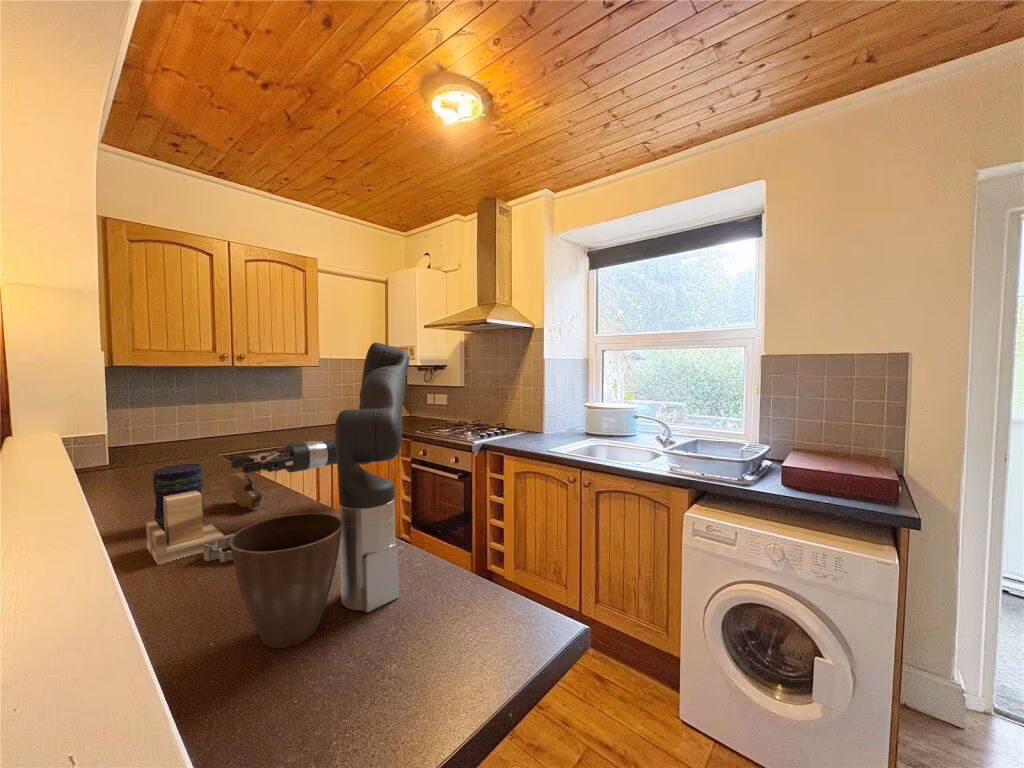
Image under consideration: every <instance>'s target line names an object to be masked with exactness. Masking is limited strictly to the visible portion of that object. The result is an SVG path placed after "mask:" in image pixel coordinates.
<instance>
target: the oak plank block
mask: <svg viewBox="0 0 1024 768" xmlns="http://www.w3.org/2000/svg"><path fill="white" fill-rule="evenodd" d="M202 497H203V496H202V492H201V493H199V492H198V491H190V492H185V493H180V494H175V495H169V496H164V497H163V505H164V528H165V533H166V543H167V544H168V545H169V546H173V545H177V544H181V543H185V542H189V541H192V540H196V539H200V538H203V526H204V522H203V520H204V516H203V517H202V501H203V498H202Z"/></svg>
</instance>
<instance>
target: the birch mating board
mask: <svg viewBox="0 0 1024 768" xmlns="http://www.w3.org/2000/svg"><path fill="white" fill-rule="evenodd" d="M145 528H146V529H145V531H146V533H145V534H146V548H147V550H149V551H148V552H149V554H150V553H151V554H150V556H153V557H152V558H153V559H154V561H155V562H156V565H157V566H159V564H160V565H163V564H166V562H167V563H170V562H173V560H174V561H177V560H180V558H181V559H183V557H184V558H187V556H188V557H191V555H192V556H195V555H198V553H199V554H202V553H203V552H204V551H203V550H204V548H205V546H204V547H202V546H199V545H200V544H201V543H202V544H208V545H211V544H212V542H213V541H214V542H216V541H217V540H218V539H221V538H223V537H224V536H225V534H223V533H222V532H221V531H220V530H219V529H218V528H216V527H215V526H214V525H213V524H211V523H210V524H209V523H208V524H206V525H203V538H200V539H196V540H192V541H189V542H185V543H181V544H177V545H173V546H169V545H168V544H167V543H166V533H165V532H164V531H163V530H162V529H161V527H160V526H159V525H158V524H157V523H156V521H155V519H154V520H151V521H146V522H145ZM194 554H195V555H194ZM176 559H177V560H176Z"/></svg>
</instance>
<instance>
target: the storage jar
mask: <svg viewBox="0 0 1024 768" xmlns="http://www.w3.org/2000/svg"><path fill="white" fill-rule="evenodd" d="M202 468H203V467H202V464H199V463H184V464H175V465H169V466H164V467H160V468H156V469H155V470H153V471H152V475H153V481H152V487H153V490H152V491H153V494H154V496H155V498H154V499H155V508H154V520H155V521H156V523H157V524H158V525H159V526H160V527H161V529H162V530H163V531H164V532H165V528H164V505H163V497H164V496H169V495H175V494H180V493H185V492H190V491H198V492H199V493H201V494H202V488H203V475H202V473H203V472H202ZM204 512H205V511H204V501H203V500H202V517H203V518H204ZM203 523H204V519H203Z"/></svg>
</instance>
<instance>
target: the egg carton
mask: <svg viewBox="0 0 1024 768" xmlns="http://www.w3.org/2000/svg"><path fill="white" fill-rule="evenodd" d="M234 534H235V533H229V534H226V535H224V537H223V538H221V539H218V540H217V541H216V542H214V541H213V542H212V544H211V545H208V544H202V543H201V544H200V545H199V546H202V547H204V546H205V548H204V550H203V551H204V552H202V553H203V560H204V562H205V561H210V562H212V561H211V560H213V561H216V560H215V559H220V560H219V563H226V562H228V560H229V561H233V557H232V552H231V550H227V551H223V550H222V549H224V550H226V549H225V548H227V549H229V548H228V547H230V539H231V538H232V536H233V535H234ZM225 561H226V562H225Z"/></svg>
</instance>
